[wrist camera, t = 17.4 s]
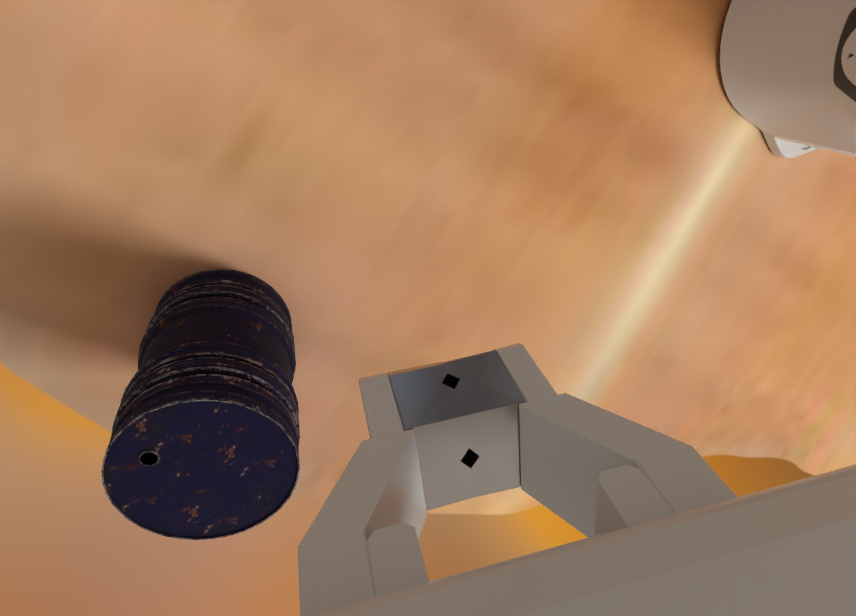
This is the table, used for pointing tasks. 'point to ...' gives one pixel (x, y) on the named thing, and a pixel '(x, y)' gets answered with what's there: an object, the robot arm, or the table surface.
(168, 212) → the table surface
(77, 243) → the table surface
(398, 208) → the table surface
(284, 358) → the black ribbed barrel
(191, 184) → the table surface
